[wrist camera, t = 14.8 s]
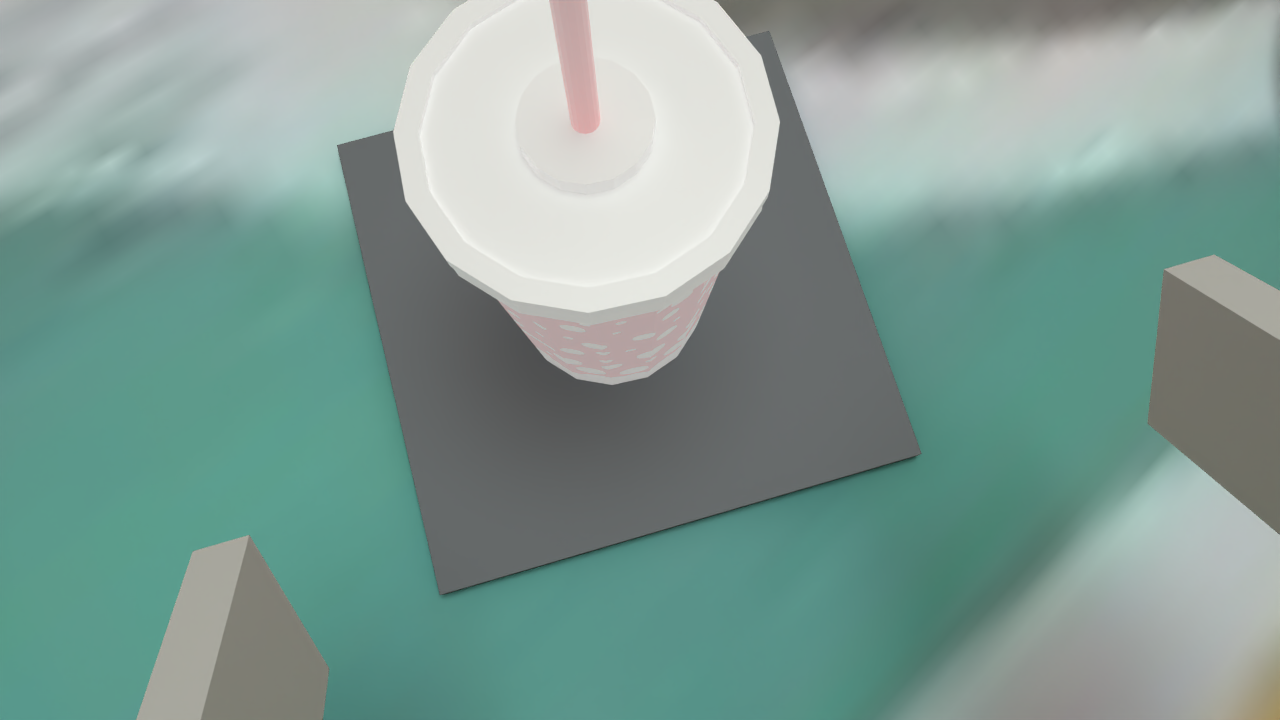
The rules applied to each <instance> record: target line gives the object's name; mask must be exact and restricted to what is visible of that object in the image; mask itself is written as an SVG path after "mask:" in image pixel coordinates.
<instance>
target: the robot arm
mask: <svg viewBox="0 0 1280 720" xmlns="http://www.w3.org/2000/svg"><path fill="white" fill-rule="evenodd" d="M1148 424H1149V425H1150V426H1151V427H1152V428H1154V429H1155V430H1156V431H1157V432H1158V433H1159V434H1161V435H1162V436H1163V437H1164V438H1165V439H1167V440H1168V441H1169V442H1170V443H1171V444H1173V445H1174V446H1175V447H1176V448H1177V449H1178V450H1180V451H1181V452H1182V453H1183V454H1184V455H1186V456H1187V457H1188V458H1189V459H1190V460H1192V461H1193V462H1194V463H1195V464H1196V465H1198V466H1199V467H1200V468H1201V469H1202V470H1203V471H1205V472H1206V473H1207V474H1208V475H1209V476H1211V477H1212V478H1213V479H1214V480H1215V481H1217V482H1218V483H1219V484H1220V485H1221V486H1222V487H1224V488H1225V489H1226V490H1227V491H1228V492H1230V493H1231V494H1232V495H1233V496H1234V497H1236V498H1237V499H1238V500H1239V501H1240V502H1241V503H1243V504H1244V505H1245V506H1246V507H1247V508H1249V509H1250V510H1251V511H1252V512H1253V513H1255V514H1256V515H1257V516H1258V517H1259V518H1260V519H1262V520H1263V521H1264V522H1265V523H1266V524H1268V525H1269V526H1270V527H1271V528H1272V529H1274V530H1275V531H1276V532H1277V533H1278V534H1279V535H1280V291H1279V290H1277V289H1275V288H1274V287H1272V286H1270V285H1268V284H1266V283H1265V282H1263V281H1261V280H1259V279H1257V278H1256V277H1254V276H1252V275H1250V274H1248V273H1246V272H1245V271H1243V270H1241V269H1239V268H1237V267H1236V266H1234V265H1232V264H1230V263H1228V262H1227V261H1225V260H1223V259H1221V258H1219V257H1218V256H1216V255H1212V256H1208V257H1205V258H1201V259H1198V260H1194V261H1191V262H1188V263H1184V264H1181V265H1177V266H1174V267H1170V268H1167V269H1164V274H1163V283H1162V292H1161V302H1160V311H1159V321H1158V330H1157V339H1156V349H1155V358H1154V367H1153V377H1152V386H1151V396H1150V405H1149V414H1148ZM328 674H329V667H328V666H327V664H326V662H325V661H324V659H323V657H322V656H321V654H320V652H319V651H318V649H317V647H316V646H315V644H314V642H313V641H312V639H311V637H310V636H309V634H308V632H307V631H306V629H305V627H304V626H303V624H302V622H301V621H300V619H299V617H298V616H297V614H296V612H295V611H294V609H293V607H292V606H291V604H290V602H289V600H288V599H287V597H286V595H285V594H284V592H283V590H282V589H281V587H280V585H279V584H278V582H277V580H276V579H275V577H274V575H273V574H272V572H271V570H270V569H269V567H268V565H267V564H266V562H265V560H264V559H263V557H262V555H261V554H260V552H259V550H258V549H257V547H256V545H255V544H254V542H253V540H252V539H251V537H250V535H248V536H244V537H241V538H237V539H234V540H231V541H227V542H224V543H220V544H217V545H213V546H210V547H206V548H203V549H200V550H196V551H193V553H192V556H191V558H190V561H189V564H188V567H187V570H186V573H185V576H184V579H183V582H182V585H181V588H180V591H179V594H178V597H177V600H176V603H175V606H174V609H173V612H172V615H171V618H170V621H169V624H168V627H167V630H166V633H165V636H164V639H163V642H162V645H161V648H160V651H159V654H158V657H157V660H156V663H155V666H154V669H153V672H152V675H151V678H150V681H149V684H148V687H147V690H146V692H145V695H144V698H143V701H142V704H141V707H140V710H139V713H138V716H137V719H136V720H323V713H324V705H325V698H326V690H327V682H328Z"/></svg>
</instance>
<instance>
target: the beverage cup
mask: <svg viewBox="0 0 1280 720" xmlns="http://www.w3.org/2000/svg"><path fill="white" fill-rule="evenodd" d="M779 125H780V120H779V116H778V113H777V109H776V106H775V102H774V99H773V95H772V92H771V88H770V85H769V81H768V78H767V74H766V71H765V67H764V64H763V60H762V57H761V55H760V53H759V52H758V51H757V50H756V49H755V47H754V46H753V45H752V44H751V43H750V41H749V40H748V39H747V38H746V36H745V35H744V34H743V33H742V32H741V30H740V29H739V28H738V27H737V26H736V24H735V23H734V22H733V21H732V20H731V18H730V17H729V16H728V15H727V13H726V12H725V11H724V10H723V9H722V7H721V6H720V5H719V4H718V3H717V2H716V1H714V0H468V1H467V2H465V3H463V4H462V5H460V6H458V7H457V8H455V9H453V10H452V12H451V13H450V14H449V16H448V17H447V18H446V19H445V21H444V22H443V23H442V25H441V26H440V27H439V29H438V30H437V31H436V33H435V34H434V35H433V37H432V38H431V39H430V40H429V42H428V43H427V44H426V46H425V47H424V48H423V50H422V51H421V52H420V54H419V55H418V56H417V57H416V59H415V60H414V61H413V63H412V64H411V65H410V69H409V73H408V77H407V81H406V84H405V88H404V92H403V96H402V100H401V104H400V108H399V112H398V116H397V120H396V123H395V127H394V131H393V134H394V140H395V145H396V151H397V157H398V162H399V168H400V174H401V179H402V185H403V191H404V196H405V201H406V203H407V204H408V206H409V207H410V209H411V210H412V212H413V213H414V215H415V216H416V217H417V219H418V220H419V222H420V223H421V225H422V226H423V228H424V229H425V231H426V232H427V233H428V235H429V236H430V238H431V239H432V241H433V242H434V244H435V245H436V246H437V248H438V249H439V251H440V252H441V254H442V255H443V257H444V258H445V259H446V261H447V262H448V264H449V265H450V266H451V267H452V268H453V269H454V270H455V271H456V273H457V274H458V276H460V277H461V278H463V279H465V280H466V281H468V282H470V283H471V284H473V285H474V286H476V287H478V288H479V289H481V290H482V291H484V292H486V293H487V294H489V295H491V296H492V297H494V298H495V299H497V300H498V301H499V302H500V304H501V305H502V306H503V307H504V309H505V310H506V311H507V312H508V313H509V315H510V316H511V317H512V318H513V320H514V321H515V322H516V323H517V325H518V326H519V327H520V328H521V329H522V331H523V332H524V333H525V334H526V336H527V337H528V338H529V339H530V340H531V342H532V343H533V344H534V345H535V347H536V348H537V349H538V350H539V351H540V353H541V354H542V355H543V356H544V358H545V359H546V360H547V361H549V362H550V363H552V364H553V365H555V366H557V367H558V368H560V369H561V370H563V371H565V372H566V373H568V374H570V375H571V376H573V377H574V378H576V379H580V380H586V381H592V382H598V383H604V384H610V385H614V384H619V383H623V382H628V381H632V380H637V379H641V378H646V377H648V376H650V375H651V374H653V373H654V372H656V371H657V370H659V369H660V368H662V367H663V366H664V365H666V364H667V363H669V362H670V361H672V360H673V359H675V358H676V357H677V356H678V354H679V353H680V351H681V350H682V348H683V347H684V345H685V344H686V342H687V340H688V339H689V337H690V336H691V334H692V333H693V331H694V330H695V328H696V326H697V324H698V321H699V319H700V316H701V314H702V312H703V309H704V307H705V305H706V302H707V300H708V298H709V295H710V293H711V291H712V288H713V286H714V284H715V281H716V279H717V276H718V274H719V272H720V271H721V270H723V269H724V268H725V266H726V265H727V263H728V262H729V260H730V259H731V257H732V256H733V254H734V253H735V251H736V249H737V248H738V246H739V245H740V243H741V242H742V240H743V239H744V237H745V235H746V234H747V232H748V231H749V229H750V228H751V226H752V225H753V223H754V221H755V220H756V218H757V217H758V215H759V214H760V212H761V211H762V206H763V204H764V202H765V201H766V199H767V197H768V194H769V191H770V184H771V178H772V171H773V165H774V158H775V151H776V145H777V138H778V132H779Z"/></svg>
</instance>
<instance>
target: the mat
mask: <svg viewBox="0 0 1280 720" xmlns="http://www.w3.org/2000/svg"><path fill="white" fill-rule="evenodd" d="M746 38H747V39H748V40H749V41H750V43H751V44H752V45H753V46H754V47H755V49H756V50H757V51H758V52H759V53H760V55H761V57H762V60H763V64H764V67H765V71H766V74H767V78H768V81H769V85H770V88H771V92H772V95H773V99H774V102H775V106H776V109H777V113H778V116H779V120H780V125H779V132H778V138H777V145H776V151H775V158H774V165H773V171H772V178H771V184H770V191H769V194H768V197H767V199H766V201H765V202H764V204H763V206H762V211H761V212H760V214H759V215H758V217H757V218H756V220H755V221H754V223H753V225H752V226H751V228H750V229H749V231H748V232H747V234H746V235H745V237H744V239H743V240H742V242H741V243H740V245H739V246H738V248H737V249H736V251H735V253H734V254H733V256H732V257H731V259H730V260H729V262H728V263H727V265H726V266H725V268H724V269H723V270H721V271H720V272H719V274H718V276H717V279H716V281H715V284H714V286H713V288H712V291H711V293H710V295H709V298H708V300H707V302H706V305H705V307H704V309H703V312H702V314H701V316H700V319H699V321H698V324H697V326H696V328H695V330H694V331H693V333H692V334H691V336H690V337H689V339H688V340H687V342H686V344H685V345H684V347H683V348H682V350H681V351H680V353H679V354H678V356H677V357H676V358H675V359H673V360H672V361H670V362H669V363H667V364H666V365H664V366H663V367H662V368H660V369H659V370H657V371H656V372H654V373H653V374H651V375H650V376H648V377H646V378H641V379H637V380H632V381H628V382H623V383H619V384H614V385H610V384H604V383H598V382H592V381H586V380H580V379H576V378H574V377H573V376H571V375H570V374H568V373H566V372H565V371H563V370H561V369H560V368H558V367H557V366H555V365H553V364H552V363H550V362H549V361H547V360H546V359H545V358H544V356H543V355H542V354H541V353H540V351H539V350H538V349H537V348H536V347H535V345H534V344H533V343H532V342H531V340H530V339H529V338H528V337H527V336H526V334H525V333H524V332H523V331H522V329H521V328H520V327H519V326H518V325H517V323H516V322H515V321H514V320H513V318H512V317H511V316H510V315H509V313H508V312H507V311H506V310H505V309H504V307H503V306H502V305H501V304H500V302H499V301H498V300H497V299H495V298H494V297H492V296H491V295H489V294H487V293H486V292H484V291H482V290H481V289H479V288H478V287H476V286H474V285H473V284H471V283H470V282H468V281H466V280H465V279H463V278H461V277H460V276H458V274H457V273H456V271H455V270H454V269H453V268H452V267H451V266H450V265H449V264H448V262H447V261H446V259H445V258H444V257H443V255H442V254H441V252H440V251H439V249H438V248H437V246H436V245H435V244H434V242H433V241H432V239H431V238H430V236H429V235H428V233H427V232H426V231H425V229H424V228H423V226H422V225H421V223H420V222H419V220H418V219H417V217H416V216H415V215H414V213H413V212H412V210H411V209H410V207H409V206H408V204H407V203H406V201H405V196H404V191H403V185H402V179H401V174H400V168H399V162H398V157H397V151H396V145H395V140H394V134H393V131H394V130H393V131H389V132H385V133H382V134H378V135H374V136H370V137H367V138H363V139H359V140H355V141H351V142H348V143H344V144H340V145H337V147H338V152H339V156H340V160H341V165H342V169H343V174H344V178H345V182H346V187H347V191H348V195H349V200H350V204H351V209H352V213H353V217H354V222H355V226H356V230H357V235H358V239H359V243H360V248H361V252H362V257H363V261H364V265H365V270H366V274H367V278H368V283H369V287H370V292H371V296H372V300H373V305H374V309H375V313H376V318H377V322H378V327H379V331H380V335H381V340H382V344H383V348H384V353H385V357H386V361H387V366H388V370H389V375H390V379H391V383H392V388H393V392H394V396H395V401H396V405H397V410H398V414H399V418H400V423H401V427H402V431H403V436H404V440H405V444H406V449H407V453H408V458H409V462H410V466H411V471H412V475H413V479H414V484H415V488H416V493H417V497H418V501H419V506H420V510H421V514H422V519H423V523H424V527H425V532H426V536H427V541H428V545H429V549H430V554H431V558H432V562H433V567H434V571H435V576H436V580H437V584H438V589H439V593H440V595H443V594H447V593H450V592H454V591H457V590H461V589H464V588H467V587H471V586H474V585H478V584H481V583H484V582H488V581H491V580H495V579H498V578H502V577H505V576H508V575H512V574H515V573H519V572H522V571H525V570H529V569H532V568H536V567H539V566H543V565H546V564H549V563H553V562H556V561H560V560H563V559H566V558H570V557H573V556H577V555H580V554H584V553H587V552H590V551H594V550H597V549H601V548H604V547H607V546H611V545H614V544H618V543H621V542H624V541H628V540H631V539H635V538H638V537H642V536H645V535H648V534H652V533H655V532H659V531H662V530H665V529H669V528H672V527H676V526H679V525H683V524H686V523H689V522H693V521H696V520H700V519H703V518H706V517H710V516H713V515H717V514H720V513H723V512H727V511H730V510H734V509H737V508H741V507H744V506H747V505H751V504H754V503H758V502H761V501H764V500H768V499H771V498H775V497H778V496H782V495H785V494H788V493H792V492H795V491H799V490H802V489H805V488H809V487H812V486H816V485H819V484H823V483H826V482H829V481H833V480H836V479H840V478H843V477H846V476H850V475H853V474H857V473H860V472H863V471H867V470H870V469H874V468H877V467H881V466H884V465H887V464H891V463H894V462H898V461H901V460H904V459H908V458H911V457H915V456H918V455H920V454H921V451H920V448H919V445H918V443H917V440H916V437H915V434H914V432H913V429H912V426H911V423H910V420H909V418H908V415H907V412H906V409H905V407H904V404H903V401H902V398H901V395H900V393H899V390H898V387H897V384H896V382H895V379H894V376H893V373H892V371H891V368H890V365H889V362H888V359H887V357H886V354H885V351H884V348H883V346H882V343H881V340H880V337H879V334H878V332H877V329H876V326H875V323H874V321H873V318H872V315H871V312H870V309H869V307H868V304H867V301H866V298H865V296H864V293H863V290H862V287H861V285H860V282H859V279H858V276H857V273H856V271H855V268H854V265H853V262H852V260H851V257H850V254H849V251H848V248H847V246H846V243H845V240H844V237H843V235H842V232H841V229H840V226H839V223H838V221H837V218H836V215H835V212H834V210H833V207H832V204H831V201H830V198H829V196H828V193H827V190H826V187H825V185H824V182H823V179H822V176H821V174H820V171H819V168H818V165H817V162H816V160H815V157H814V154H813V151H812V149H811V146H810V143H809V140H808V137H807V135H806V132H805V129H804V126H803V124H802V121H801V118H800V115H799V112H798V110H797V107H796V104H795V101H794V99H793V96H792V93H791V90H790V87H789V85H788V82H787V79H786V76H785V74H784V71H783V68H782V65H781V63H780V60H779V57H778V54H777V51H776V49H775V46H774V43H773V40H772V38H771V35H770V32H769V31H767V32H763V33H759V34H756V35H752V36H748V37H746Z"/></svg>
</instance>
